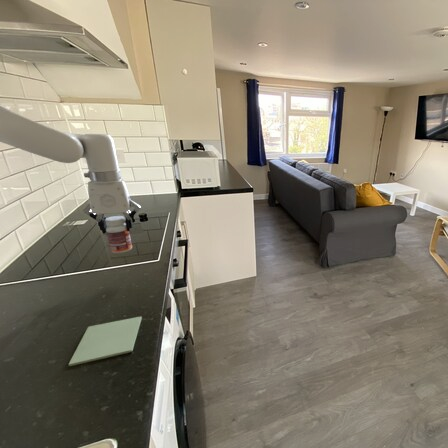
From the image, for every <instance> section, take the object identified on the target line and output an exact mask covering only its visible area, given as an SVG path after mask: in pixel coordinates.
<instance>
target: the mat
mask: <svg viewBox="0 0 448 448" xmlns="http://www.w3.org/2000/svg"><path fill="white" fill-rule="evenodd" d="M142 319H143V317H142V316H136V317H130V318H127V319H119V320H115V321H111V322H105V323H101V324H95V325H90V326H87V328H86V330H85V333H84V334H83V336H82V338H81V340H80V342H79V344H78V346H77V347H76V350H75V351H74V353H73V355H72V357H71V358H70V360H69V363H68V367H73V366H77V365H80V364H81V365H82V364H87V363H90V362H94V361H99V360H102V359H107V358H113V357H116V356H120V355H124V354H129V353H132V352H133V350H134V347H135V344H136V340H137V336H138V333H139V330H140V326H141V322H142Z"/></svg>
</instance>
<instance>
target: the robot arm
mask: <svg viewBox="0 0 448 448" xmlns="http://www.w3.org/2000/svg"><path fill="white" fill-rule="evenodd" d="M0 143H2V144H6V145H9V146H10V147H14V148H16V149H18V150H22V151H25V152H28V153H30V154H33V155H37V156H40V157H42V158H46V159H48V160H51V161H54V162H58V163H63V164H72V163H76V162H78V161H79V160H80V159H84V158H85V161H86V165H87V169H88V172H84V173H83V177H84V178H88V179H89V181H88V182H87V193H88V201H89V203H88V204H87V205H86V206H85V207H84V208H83V210H82V212H83V213H84V214H86V215H87V216H89V217H90V218H92V219H93V220H95V221H96V223H98V227H99V231H101V233H102V234H103V235H104V234H107V233H106V227H107V225H106V221H105V219H106V218H105V215H112V214H122V215H123V217H124V218H125V224H126V227H127V231H129V232H131V231H132V229H133V228H134V223H133V217H134V216H135V215H136V214H137V213H138V212H139V210H141V208H142V206H141V205H140V204H138V203H137V202H135V201H134V200H132V199H131V196H130V193H129V190H128V187H127V185H126V182H125V180H124V179H122V176H121V171H120V167H119V162H118V157H117V152H116V146H115V142H114V138H113V137H112V136H111V135H110V134H107V133H83V134H81V133H71V132H63V131H60V130H57V129H55V128H53V127H50V126H47V125H44V124H42V123H39V122H37V121H34V120H32V119H30V118H27V117H25V116H23V115H21V114H18V113H16V112H14V111H12V110H11V109H9V108H7V107H6V106H4V105H2V104H0ZM132 207H133V208H134V209H132ZM131 209H132V210H131ZM130 210H131V211H130Z"/></svg>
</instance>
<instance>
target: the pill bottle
mask: <svg viewBox="0 0 448 448" xmlns="http://www.w3.org/2000/svg"><path fill="white" fill-rule="evenodd" d="M104 219H105V221H106V225H107V227H106V233H105V234H106V237H107V240H108V245H109V249H110V252H111V253H113V254H123V253H127V252H129V251H131V250H132V249H133V244H132V239H131V238H132V237H131V233H130V231H127V227H126V222H125V220H126V217H125V216H124V215H113V216H109V217H106V218H104Z"/></svg>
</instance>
